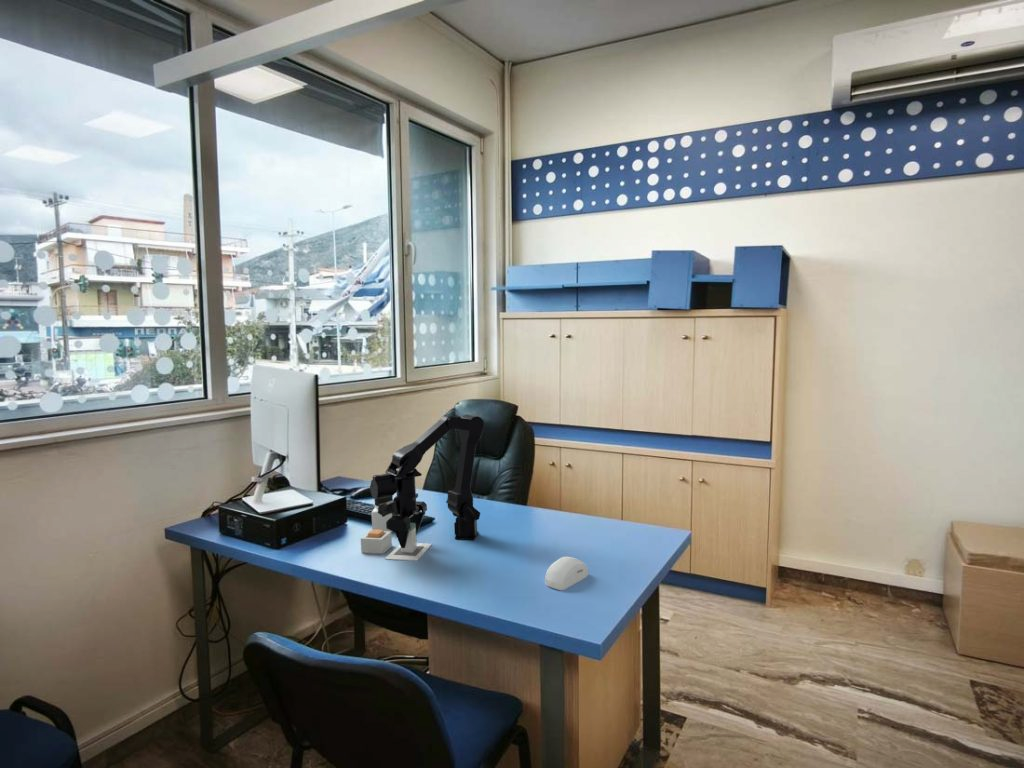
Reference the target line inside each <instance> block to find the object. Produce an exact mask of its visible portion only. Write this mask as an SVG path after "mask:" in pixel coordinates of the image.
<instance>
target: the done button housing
mask: <svg viewBox="0 0 1024 768" xmlns="http://www.w3.org/2000/svg"><path fill="white" fill-rule="evenodd" d="M370 531H371V530H369V531H368V532H367V533H366V534H364V535H363V536H361V538H360V546H361V547H360V550H361V554H379V555H380V554H381V555H383V554H384V553H385V552H387V551H388V550H389V549H390V548H391V547H392V546H393V543H392V542H393V541H392V532H391V531H384V535H383V536H382V537H381V538H368V533H369V532H370Z"/></svg>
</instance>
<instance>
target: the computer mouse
mask: <svg viewBox="0 0 1024 768" xmlns="http://www.w3.org/2000/svg"><path fill="white" fill-rule="evenodd" d="M588 576H589V568H588V566H587V565H586V564H585V563H584V562H583V561H582V560H580V559H578V558H575V557H572V556H561V557H560V558H558V559H557V560H556V561H554V562H552V563H551V565H550V566H549V567H548V568H547V570H546V573H545V576H544V584H545V586H547V587H549V588H551V589H555V590H559V591H564V590H566V589H568V588H571V587H572V586H574V585H576V584H577V583H579V582H580V581H582V580H585V579H586V578H587V577H588Z"/></svg>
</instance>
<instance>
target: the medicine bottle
mask: <svg viewBox="0 0 1024 768" xmlns="http://www.w3.org/2000/svg"><path fill="white" fill-rule="evenodd" d="M392 500H394V495H392V496H387V497H383V498H378V499H374V508H373V510H372V511H371V527H372V529H371V530H373V529H379V530H384V531H391V530H389V529H387V528H386V522H387V521H388V520H389V519H390V518H391V517H392V516H398V515H394V512H393V513H391V514H388V515H386V516H384V517H382V515H380V514H379V513H378V506H379V505H380V504H383V503H384V502H385V503H386V502H389V501H392ZM391 533H394V532H393V531H391Z"/></svg>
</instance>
